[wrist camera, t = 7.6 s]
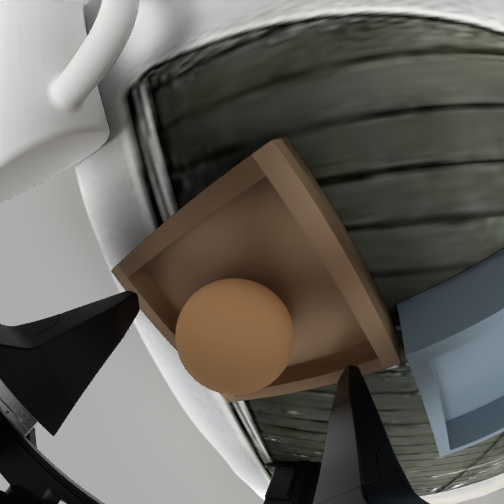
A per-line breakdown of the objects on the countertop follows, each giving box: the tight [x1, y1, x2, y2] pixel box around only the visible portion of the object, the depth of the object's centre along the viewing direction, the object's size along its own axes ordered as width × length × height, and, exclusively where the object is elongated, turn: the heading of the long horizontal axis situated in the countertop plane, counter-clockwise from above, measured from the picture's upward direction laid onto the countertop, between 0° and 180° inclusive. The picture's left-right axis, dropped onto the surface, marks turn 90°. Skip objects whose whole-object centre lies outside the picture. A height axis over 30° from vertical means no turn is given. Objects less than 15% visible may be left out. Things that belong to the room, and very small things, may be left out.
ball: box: [175, 278, 295, 395], centre depth 10 cm, size 4×4×4 cm
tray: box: [111, 137, 401, 402], centre depth 12 cm, size 10×10×2 cm
